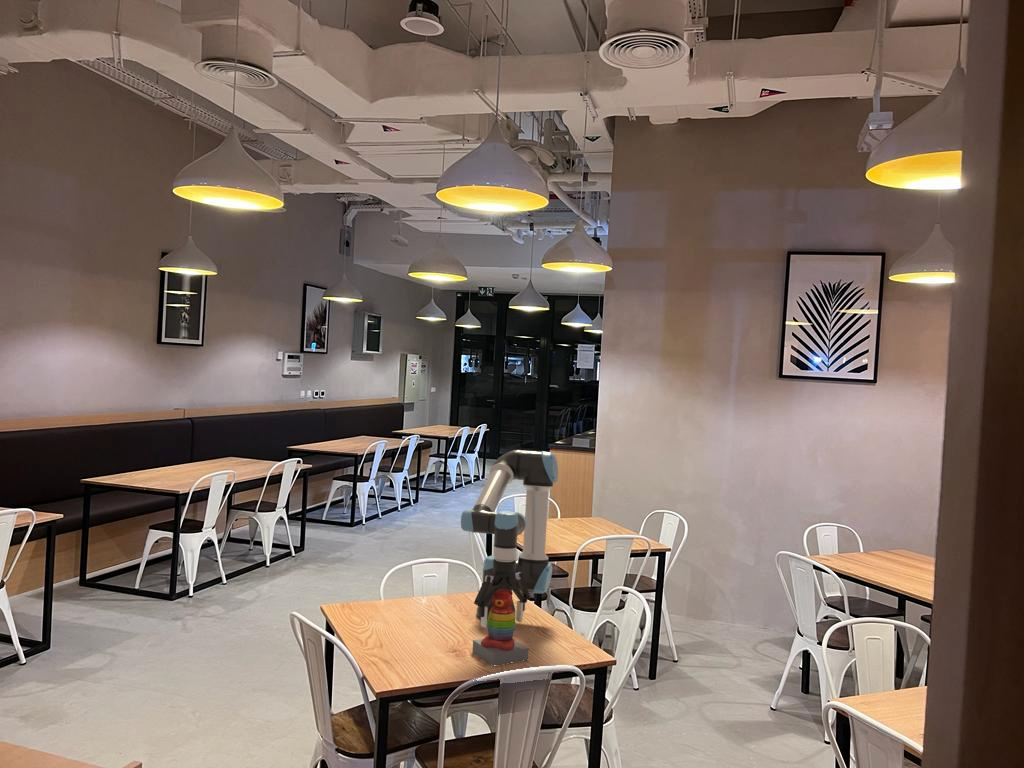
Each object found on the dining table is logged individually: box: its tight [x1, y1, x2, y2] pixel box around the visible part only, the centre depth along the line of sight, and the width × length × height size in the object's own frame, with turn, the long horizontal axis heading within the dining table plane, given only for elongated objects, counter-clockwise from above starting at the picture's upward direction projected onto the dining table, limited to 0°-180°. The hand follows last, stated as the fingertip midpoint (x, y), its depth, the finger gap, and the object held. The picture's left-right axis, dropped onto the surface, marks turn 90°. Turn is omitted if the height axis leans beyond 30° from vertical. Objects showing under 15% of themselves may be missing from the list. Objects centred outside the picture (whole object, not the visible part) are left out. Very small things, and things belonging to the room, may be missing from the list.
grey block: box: [472, 637, 530, 667], centre depth 237 cm, size 13×14×4 cm
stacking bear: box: [481, 589, 517, 650], centre depth 237 cm, size 11×10×18 cm
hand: (501, 624), depth 238 cm, fingers open, 13 cm apart
